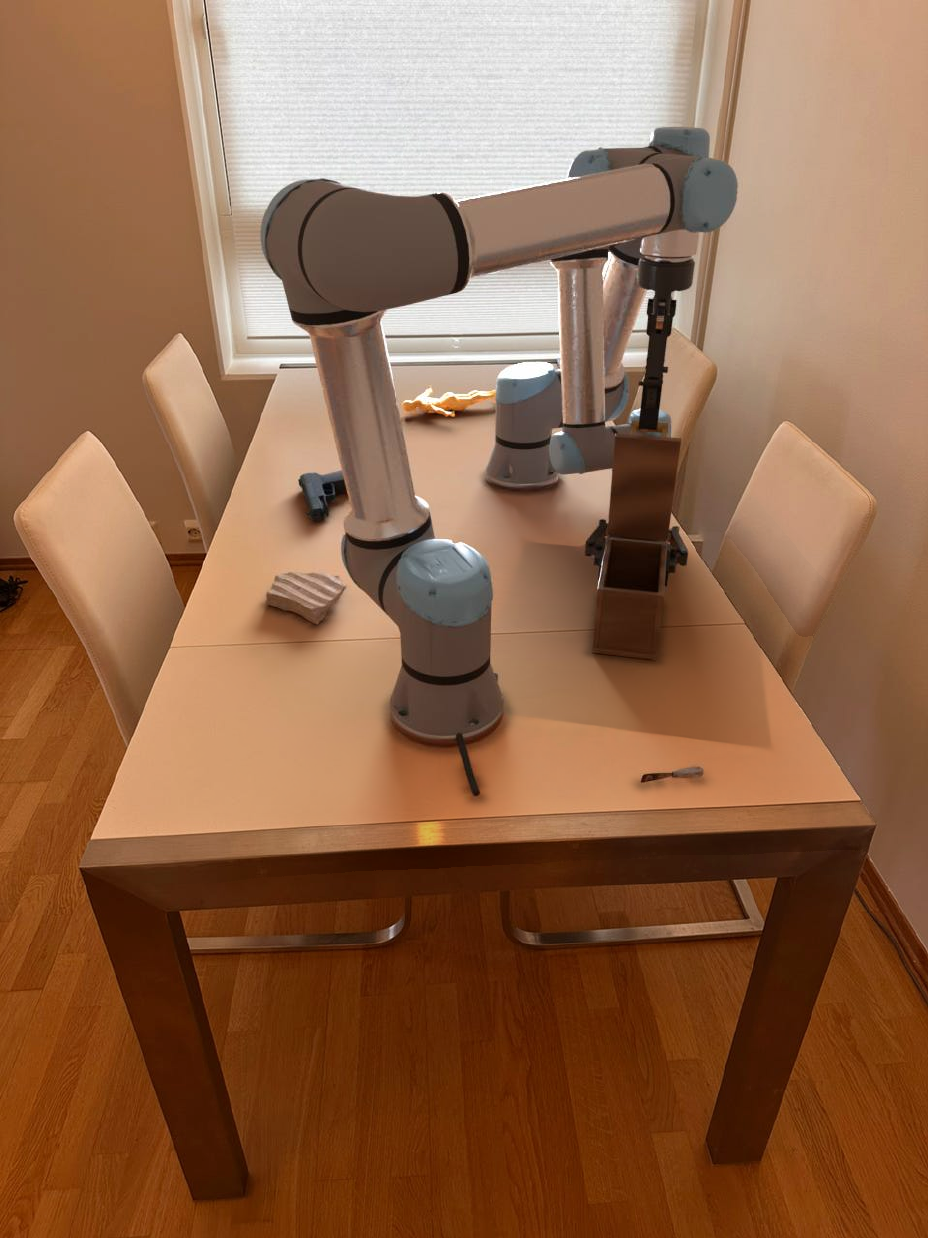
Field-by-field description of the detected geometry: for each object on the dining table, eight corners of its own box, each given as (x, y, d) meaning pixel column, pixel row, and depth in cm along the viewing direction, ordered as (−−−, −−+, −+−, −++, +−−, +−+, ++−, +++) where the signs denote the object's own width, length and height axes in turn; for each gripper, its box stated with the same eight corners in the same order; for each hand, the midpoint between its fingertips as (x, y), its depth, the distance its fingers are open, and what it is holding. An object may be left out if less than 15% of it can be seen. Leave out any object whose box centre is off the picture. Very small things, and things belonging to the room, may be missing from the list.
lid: (681, 441, 127) (683, 412, 133) (614, 436, 129) (619, 407, 134) (667, 541, 139) (669, 510, 145) (607, 535, 141) (612, 505, 147)
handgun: (369, 516, 174) (308, 523, 171) (354, 480, 188) (297, 486, 185) (368, 501, 172) (306, 508, 169) (353, 466, 186) (295, 472, 183)
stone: (356, 590, 149) (354, 577, 147) (319, 626, 139) (317, 612, 138) (289, 576, 153) (287, 563, 152) (249, 610, 144) (247, 596, 142)
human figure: (395, 413, 223) (394, 398, 221) (438, 390, 237) (438, 375, 235) (462, 429, 215) (462, 413, 213) (502, 404, 229) (503, 388, 227)
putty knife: (703, 777, 109) (705, 767, 109) (642, 788, 108) (644, 777, 107) (700, 772, 110) (702, 762, 109) (639, 782, 109) (640, 771, 108)
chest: (655, 660, 131) (664, 595, 125) (591, 652, 133) (597, 588, 127) (659, 602, 145) (667, 542, 140) (601, 596, 147) (607, 536, 141)
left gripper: (642, 244, 129) (626, 402, 141) (635, 267, 114) (619, 441, 127) (695, 246, 128) (674, 405, 140) (695, 270, 113) (672, 445, 125)
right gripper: (700, 540, 159) (701, 603, 140) (577, 528, 163) (561, 589, 144) (706, 501, 155) (708, 561, 136) (579, 490, 159) (564, 547, 140)
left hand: (648, 422), depth 133 cm, fingers open, 5 cm apart
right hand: (633, 575), depth 140 cm, fingers closed on chest, 9 cm apart
